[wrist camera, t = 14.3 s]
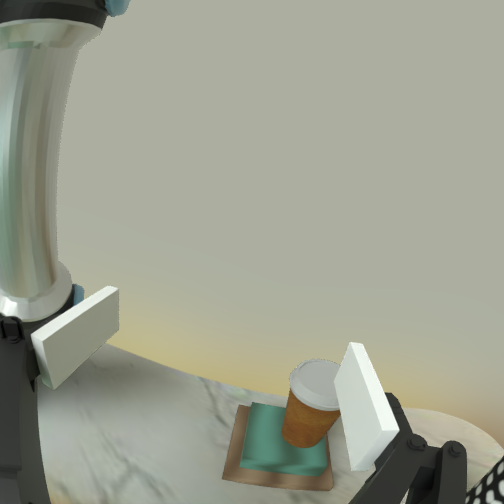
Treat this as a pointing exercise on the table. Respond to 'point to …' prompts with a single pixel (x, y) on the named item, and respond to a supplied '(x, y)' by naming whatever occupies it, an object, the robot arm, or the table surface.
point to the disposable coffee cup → (311, 403)
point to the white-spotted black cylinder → (489, 487)
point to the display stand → (274, 453)
